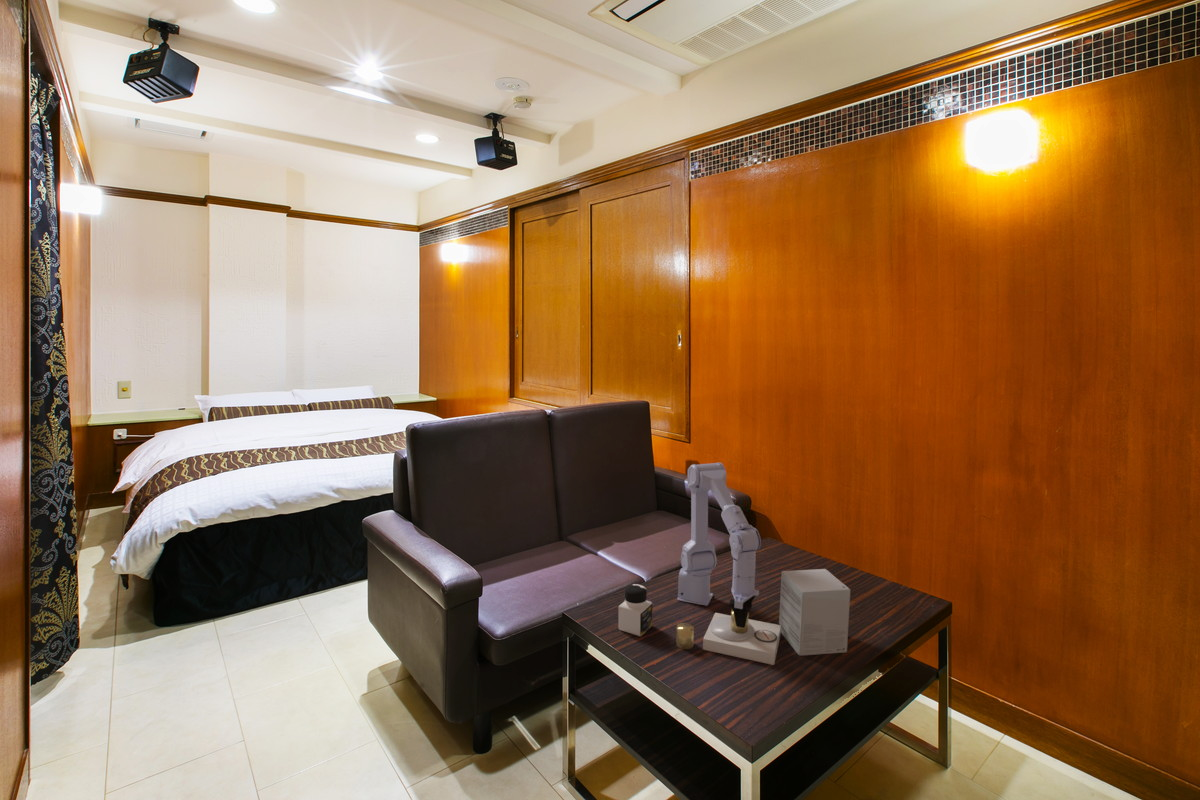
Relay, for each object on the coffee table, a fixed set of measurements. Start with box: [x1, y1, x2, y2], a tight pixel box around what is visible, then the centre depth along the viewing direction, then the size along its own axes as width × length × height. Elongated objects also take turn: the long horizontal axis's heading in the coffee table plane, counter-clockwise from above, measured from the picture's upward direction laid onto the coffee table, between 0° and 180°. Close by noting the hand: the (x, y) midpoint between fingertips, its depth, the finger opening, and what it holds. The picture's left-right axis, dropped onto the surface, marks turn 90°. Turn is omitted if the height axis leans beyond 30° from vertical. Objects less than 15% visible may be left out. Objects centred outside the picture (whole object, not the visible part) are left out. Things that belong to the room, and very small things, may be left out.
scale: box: [702, 612, 782, 666], centre depth 156 cm, size 18×15×4 cm
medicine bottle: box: [618, 583, 653, 637], centre depth 163 cm, size 7×7×12 cm
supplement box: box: [778, 568, 851, 656], centre depth 156 cm, size 13×13×18 cm
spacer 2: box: [730, 609, 750, 634], centre depth 156 cm, size 4×4×5 cm
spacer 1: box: [675, 622, 695, 650], centre depth 155 cm, size 4×4×5 cm
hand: (742, 622), depth 156 cm, fingers closed on spacer 2, 4 cm apart
